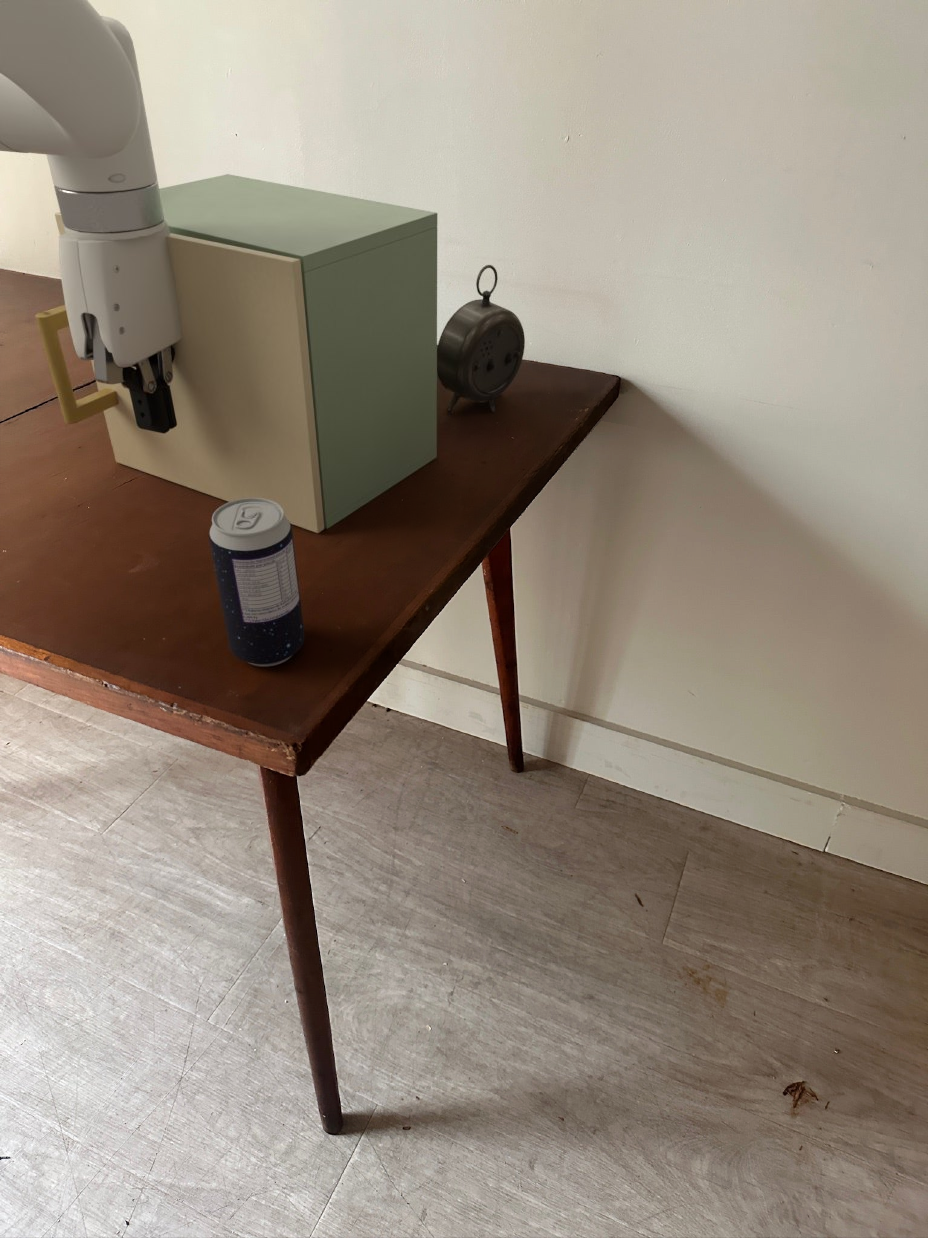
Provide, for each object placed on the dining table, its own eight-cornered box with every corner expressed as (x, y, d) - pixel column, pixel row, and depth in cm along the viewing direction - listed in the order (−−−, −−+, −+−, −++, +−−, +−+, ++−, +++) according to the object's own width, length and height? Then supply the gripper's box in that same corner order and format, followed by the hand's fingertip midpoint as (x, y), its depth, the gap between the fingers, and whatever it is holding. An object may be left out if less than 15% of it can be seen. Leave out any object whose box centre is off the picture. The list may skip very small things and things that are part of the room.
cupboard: (326, 529, 81) (303, 256, 66) (137, 453, 92) (80, 205, 77) (436, 457, 93) (437, 212, 78) (257, 397, 104) (227, 173, 89)
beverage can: (313, 629, 69) (298, 497, 62) (295, 676, 64) (277, 540, 57) (243, 623, 69) (221, 492, 62) (221, 670, 65) (193, 533, 57)
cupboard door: (278, 563, 76) (241, 280, 61) (71, 484, 86) (-4, 226, 71) (324, 529, 81) (300, 258, 66) (123, 458, 91) (63, 210, 76)
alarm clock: (497, 387, 108) (503, 251, 98) (528, 400, 105) (539, 261, 95) (432, 411, 102) (433, 268, 92) (464, 426, 99) (468, 280, 89)
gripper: (134, 185, 74) (173, 390, 85) (0, 224, 63) (66, 454, 74) (209, 194, 72) (239, 403, 83) (84, 236, 61) (138, 471, 72)
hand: (157, 427), depth 78 cm, fingers closed
